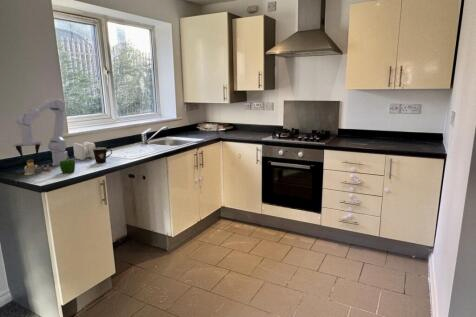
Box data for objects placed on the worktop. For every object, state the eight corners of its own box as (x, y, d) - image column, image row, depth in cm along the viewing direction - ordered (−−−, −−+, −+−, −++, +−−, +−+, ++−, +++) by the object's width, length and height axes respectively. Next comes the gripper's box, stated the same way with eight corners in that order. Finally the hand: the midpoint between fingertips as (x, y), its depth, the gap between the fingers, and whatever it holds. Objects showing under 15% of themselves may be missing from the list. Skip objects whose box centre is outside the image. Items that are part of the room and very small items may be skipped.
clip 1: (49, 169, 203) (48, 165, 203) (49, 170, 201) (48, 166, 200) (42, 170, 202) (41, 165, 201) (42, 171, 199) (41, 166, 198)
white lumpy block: (73, 158, 239) (72, 142, 236) (87, 155, 247) (86, 141, 244) (83, 161, 229) (81, 145, 227) (97, 158, 237) (95, 143, 235)
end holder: (37, 169, 204) (37, 164, 203) (37, 171, 198) (36, 167, 198) (25, 170, 201) (25, 166, 200) (25, 173, 195) (24, 168, 195)
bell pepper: (69, 175, 192) (67, 159, 190) (57, 174, 194) (55, 158, 192) (79, 172, 200) (77, 156, 198) (68, 171, 202) (66, 155, 200)
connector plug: (34, 170, 202) (33, 159, 200) (34, 171, 199) (32, 160, 197) (28, 171, 200) (26, 160, 199) (28, 172, 197) (26, 161, 196)
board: (51, 167, 210) (51, 166, 210) (51, 173, 197) (51, 172, 197) (26, 170, 204) (26, 169, 204) (24, 176, 191) (24, 175, 191)
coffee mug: (92, 164, 220) (91, 149, 218) (96, 161, 229) (94, 147, 227) (110, 163, 222) (109, 149, 220) (113, 160, 231) (112, 147, 228)
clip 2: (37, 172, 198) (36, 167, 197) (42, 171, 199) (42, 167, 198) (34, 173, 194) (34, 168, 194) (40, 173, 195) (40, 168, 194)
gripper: (11, 137, 188) (14, 159, 191) (40, 135, 195) (43, 157, 198) (12, 135, 194) (16, 157, 197) (40, 133, 201) (43, 155, 204)
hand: (29, 157), depth 198 cm, fingers open, 7 cm apart
